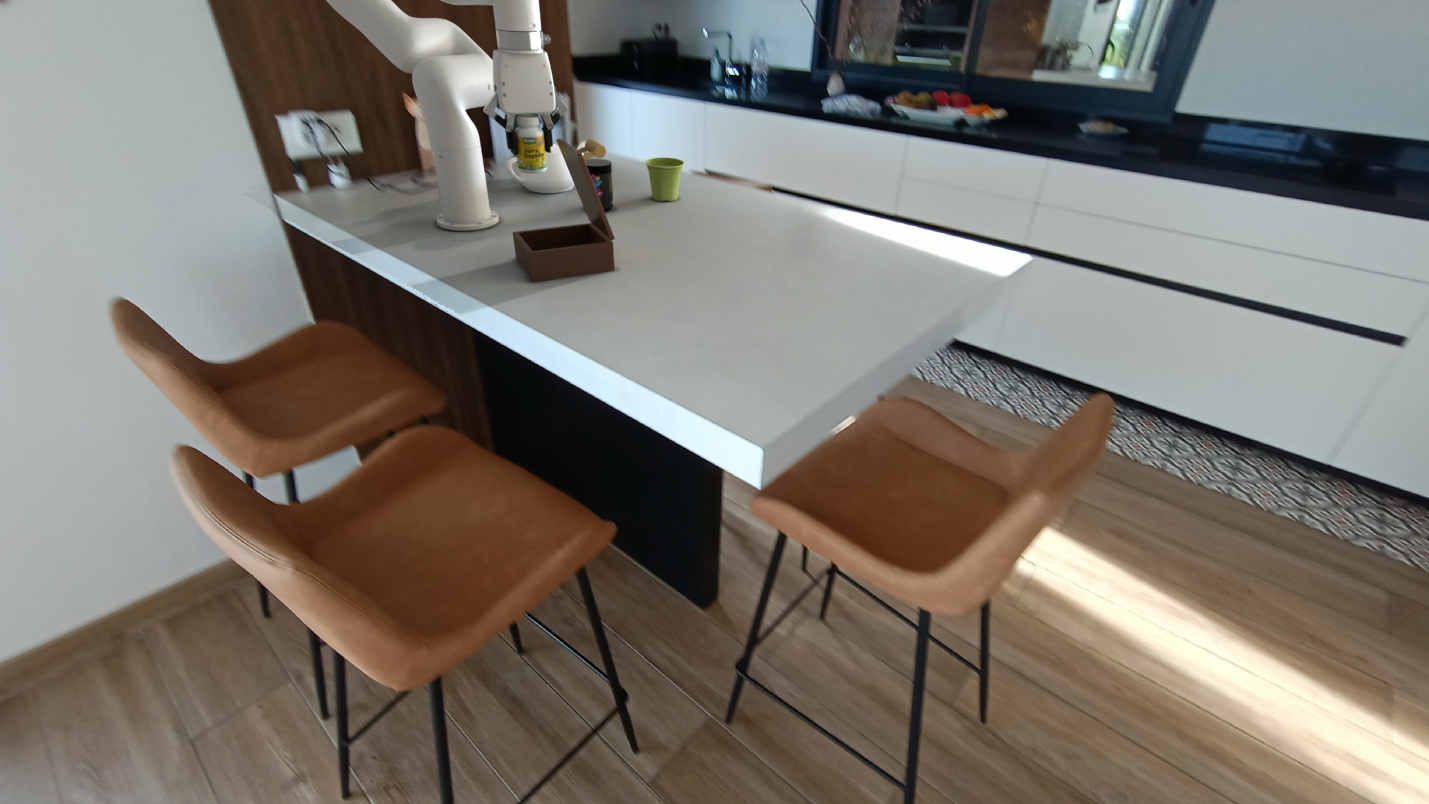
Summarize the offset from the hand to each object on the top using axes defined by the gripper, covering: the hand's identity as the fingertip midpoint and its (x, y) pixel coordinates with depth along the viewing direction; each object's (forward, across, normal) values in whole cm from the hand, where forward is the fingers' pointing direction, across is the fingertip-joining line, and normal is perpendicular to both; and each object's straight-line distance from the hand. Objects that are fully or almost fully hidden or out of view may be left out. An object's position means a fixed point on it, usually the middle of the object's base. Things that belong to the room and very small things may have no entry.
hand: (530, 151), depth 123 cm
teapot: (+18, -14, -39) cm, 45 cm away
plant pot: (+18, -36, -20) cm, 45 cm away
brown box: (+17, -1, +14) cm, 22 cm away
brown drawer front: (+4, -5, +14) cm, 15 cm away
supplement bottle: (+4, 0, 0) cm, 4 cm away
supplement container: (+18, -19, -17) cm, 31 cm away
